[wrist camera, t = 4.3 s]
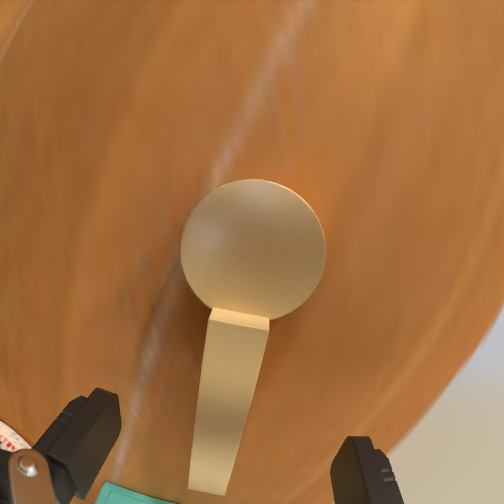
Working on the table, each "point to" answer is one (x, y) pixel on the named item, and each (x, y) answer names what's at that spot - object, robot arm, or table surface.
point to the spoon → (242, 303)
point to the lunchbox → (124, 496)
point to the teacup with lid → (11, 439)
